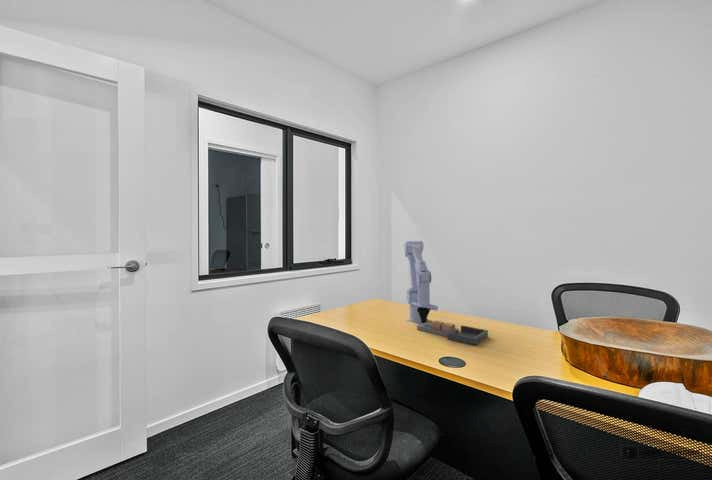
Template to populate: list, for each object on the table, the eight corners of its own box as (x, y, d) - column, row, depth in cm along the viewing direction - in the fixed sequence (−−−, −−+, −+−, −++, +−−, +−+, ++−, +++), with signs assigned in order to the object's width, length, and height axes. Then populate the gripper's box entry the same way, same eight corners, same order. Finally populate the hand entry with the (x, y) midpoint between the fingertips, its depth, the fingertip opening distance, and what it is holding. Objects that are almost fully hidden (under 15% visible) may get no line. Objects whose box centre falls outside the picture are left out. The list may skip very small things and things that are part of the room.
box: (461, 331, 159) (461, 325, 159) (487, 336, 151) (487, 330, 151) (447, 339, 148) (447, 332, 148) (475, 345, 140) (475, 338, 140)
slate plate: (425, 326, 169) (425, 322, 169) (458, 333, 157) (458, 329, 157) (417, 329, 163) (417, 325, 163) (451, 337, 151) (451, 333, 151)
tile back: (435, 325, 163) (435, 320, 163) (444, 327, 160) (444, 322, 160) (431, 327, 159) (431, 322, 159) (440, 329, 156) (440, 324, 156)
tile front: (446, 327, 159) (446, 322, 159) (455, 329, 156) (455, 324, 156) (441, 329, 156) (441, 324, 156) (450, 331, 153) (450, 326, 153)
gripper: (407, 295, 166) (407, 321, 166) (433, 298, 156) (433, 327, 157) (414, 292, 171) (414, 318, 172) (439, 296, 162) (439, 323, 162)
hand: (423, 322), depth 165 cm, fingers closed
